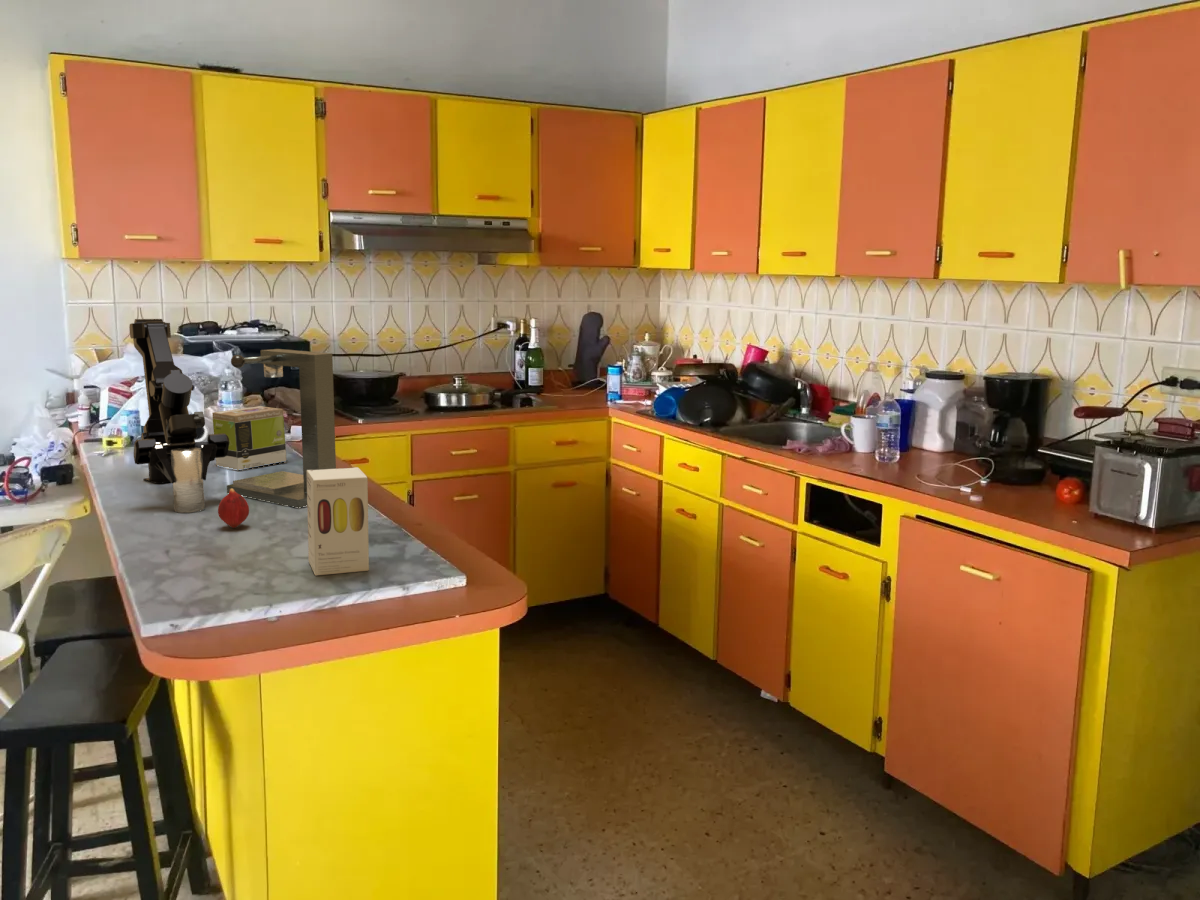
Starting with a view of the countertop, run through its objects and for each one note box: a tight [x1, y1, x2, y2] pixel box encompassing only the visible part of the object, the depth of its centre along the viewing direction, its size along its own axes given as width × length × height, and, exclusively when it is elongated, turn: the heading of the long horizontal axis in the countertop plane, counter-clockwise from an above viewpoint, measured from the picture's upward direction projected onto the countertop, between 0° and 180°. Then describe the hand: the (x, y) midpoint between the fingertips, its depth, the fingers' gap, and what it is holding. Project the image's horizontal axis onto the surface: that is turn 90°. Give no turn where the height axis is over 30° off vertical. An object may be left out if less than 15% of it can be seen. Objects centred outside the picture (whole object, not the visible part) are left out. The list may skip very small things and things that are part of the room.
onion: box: [217, 489, 250, 529], centre depth 196 cm, size 6×6×8 cm
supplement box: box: [306, 466, 370, 576], centre depth 171 cm, size 10×9×17 cm
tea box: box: [212, 405, 287, 470], centre depth 257 cm, size 15×10×15 cm
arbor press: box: [226, 348, 337, 508], centre depth 220 cm, size 24×22×33 cm
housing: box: [171, 447, 206, 514], centre depth 209 cm, size 6×6×13 cm
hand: (189, 480), depth 208 cm, fingers closed on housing, 6 cm apart
